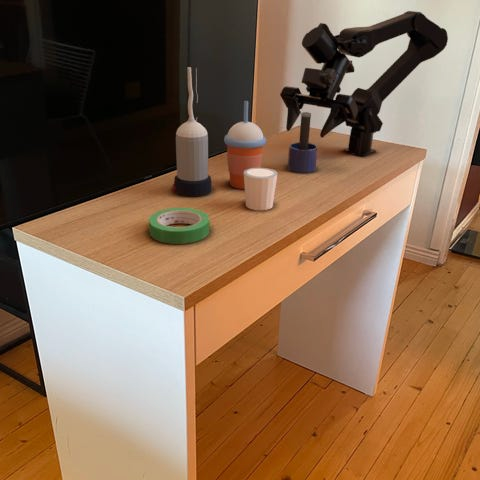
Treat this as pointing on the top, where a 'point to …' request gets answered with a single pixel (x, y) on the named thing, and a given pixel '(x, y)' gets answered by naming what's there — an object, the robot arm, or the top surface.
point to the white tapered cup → (259, 188)
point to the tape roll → (179, 234)
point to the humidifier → (192, 154)
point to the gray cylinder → (304, 130)
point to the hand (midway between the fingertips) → (304, 133)
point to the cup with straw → (243, 149)
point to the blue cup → (302, 158)
